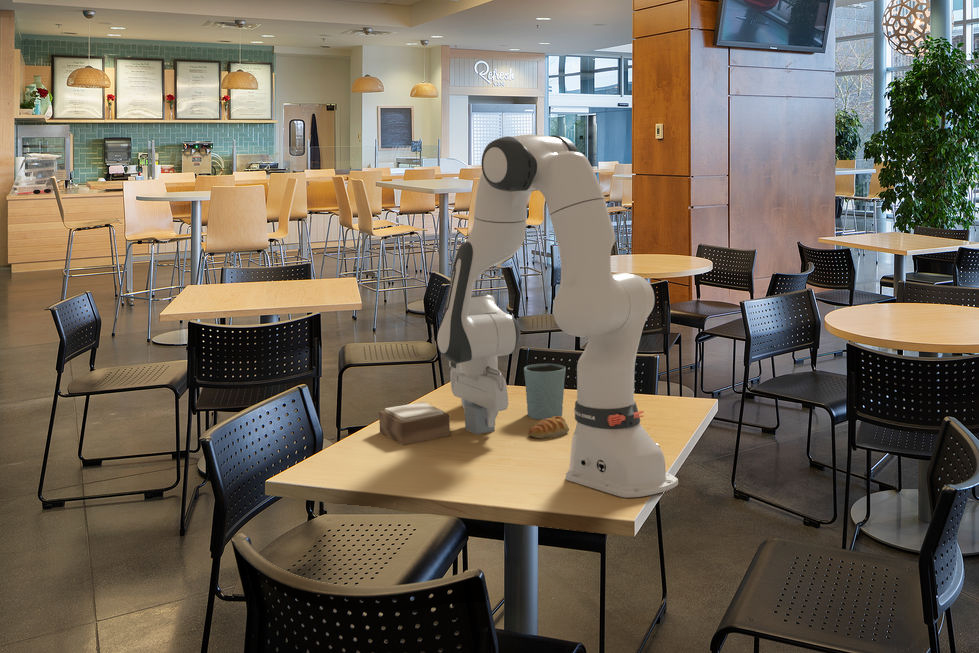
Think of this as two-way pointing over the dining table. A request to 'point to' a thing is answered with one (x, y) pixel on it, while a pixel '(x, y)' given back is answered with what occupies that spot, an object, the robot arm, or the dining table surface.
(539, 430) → the pastry
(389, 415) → the walnut block
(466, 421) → the slate block
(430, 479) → the dining table surface
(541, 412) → the teal cup
